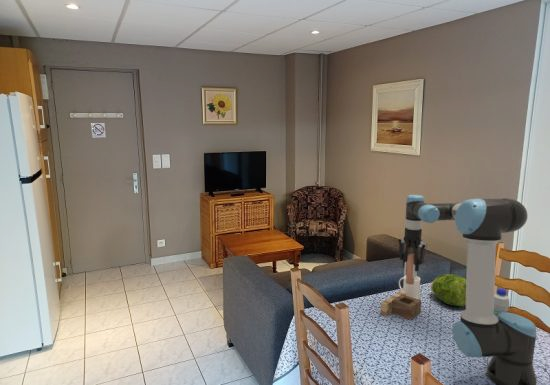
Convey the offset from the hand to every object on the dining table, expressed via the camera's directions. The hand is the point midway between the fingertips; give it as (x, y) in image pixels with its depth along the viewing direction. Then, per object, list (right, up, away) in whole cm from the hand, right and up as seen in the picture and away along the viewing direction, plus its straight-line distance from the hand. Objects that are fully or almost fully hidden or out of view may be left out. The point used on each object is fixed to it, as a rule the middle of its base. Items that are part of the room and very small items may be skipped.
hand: (410, 275), depth 186 cm
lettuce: (+26, -17, +16) cm, 35 cm away
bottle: (+33, -22, -15) cm, 42 cm away
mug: (+6, -16, +20) cm, 26 cm away
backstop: (-6, -18, +7) cm, 20 cm away
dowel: (0, -4, +1) cm, 4 cm away
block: (-1, -19, +3) cm, 19 cm away
